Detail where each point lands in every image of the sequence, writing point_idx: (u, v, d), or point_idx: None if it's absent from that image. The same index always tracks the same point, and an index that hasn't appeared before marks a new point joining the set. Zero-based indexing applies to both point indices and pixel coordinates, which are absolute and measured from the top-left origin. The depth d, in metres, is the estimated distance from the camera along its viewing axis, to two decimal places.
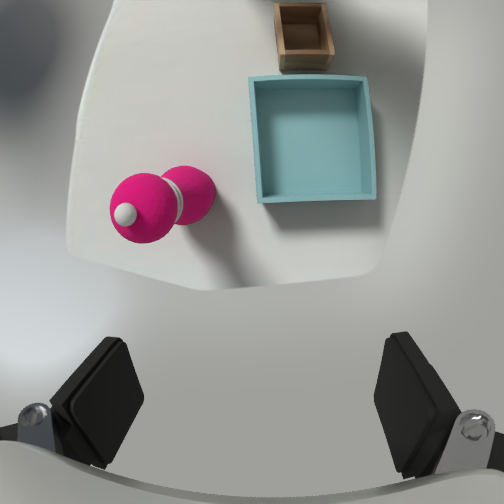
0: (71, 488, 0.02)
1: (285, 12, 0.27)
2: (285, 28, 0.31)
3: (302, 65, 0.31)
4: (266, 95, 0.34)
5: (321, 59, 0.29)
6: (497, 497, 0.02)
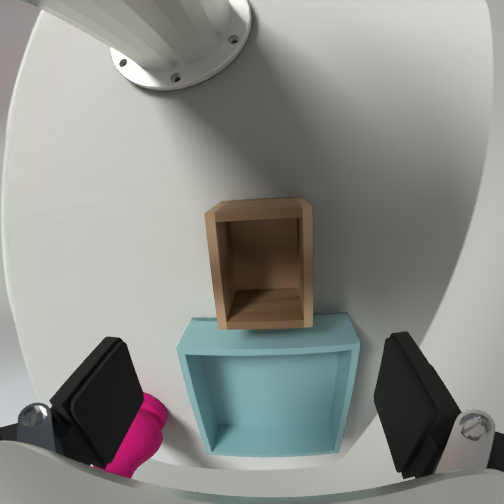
0: (71, 488, 0.02)
1: None
2: None
3: None
4: None
5: None
6: (497, 497, 0.02)
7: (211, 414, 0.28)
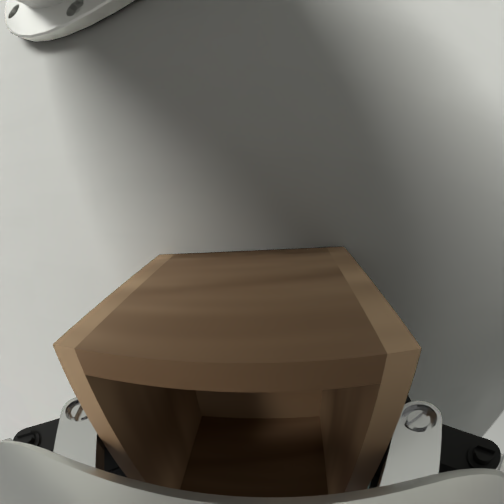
0: (71, 488, 0.02)
1: None
2: None
3: None
4: None
5: None
6: (497, 497, 0.02)
7: None
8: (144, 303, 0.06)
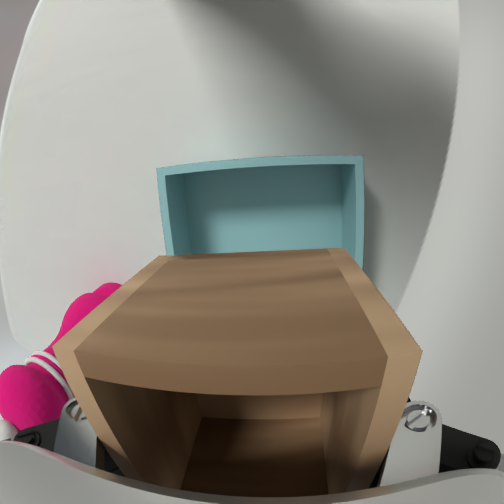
0: (71, 488, 0.02)
1: None
2: None
3: None
4: (198, 181, 0.24)
5: None
6: (497, 497, 0.02)
7: None
8: (143, 305, 0.06)
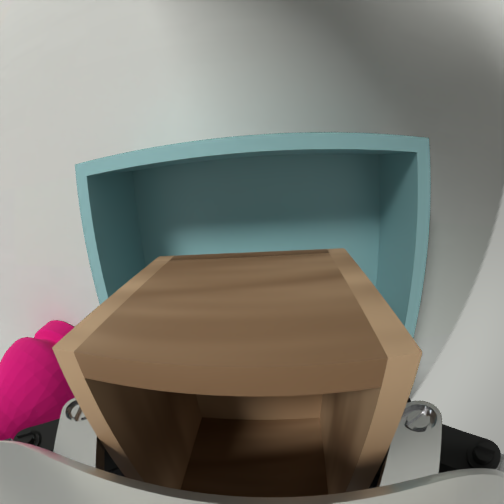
0: (71, 488, 0.02)
1: None
2: None
3: None
4: (154, 182, 0.15)
5: None
6: (497, 497, 0.02)
7: None
8: (143, 306, 0.06)
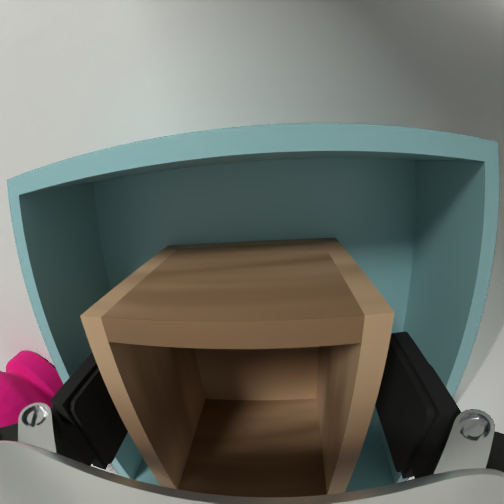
0: (71, 488, 0.02)
1: None
2: None
3: None
4: (119, 196, 0.11)
5: None
6: (497, 497, 0.02)
7: None
8: (159, 282, 0.07)
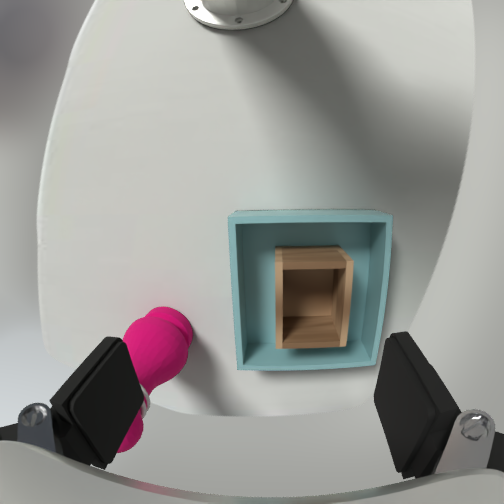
0: (71, 488, 0.02)
1: None
2: None
3: None
4: (254, 225, 0.29)
5: None
6: (497, 497, 0.02)
7: (244, 322, 0.30)
8: (289, 255, 0.25)
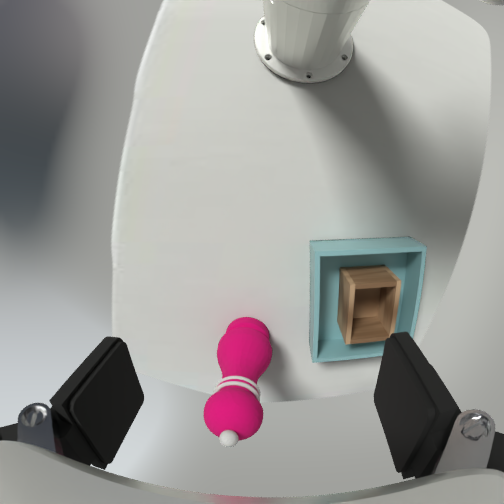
0: (71, 488, 0.02)
1: None
2: None
3: None
4: None
5: None
6: (497, 497, 0.02)
7: None
8: (356, 277, 0.33)
